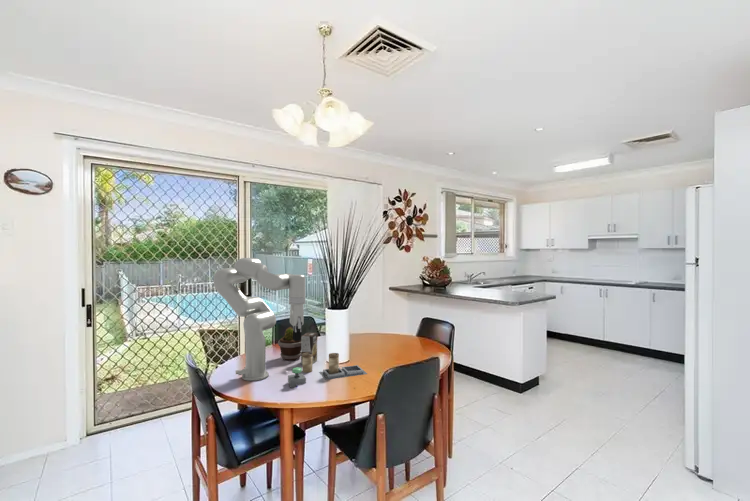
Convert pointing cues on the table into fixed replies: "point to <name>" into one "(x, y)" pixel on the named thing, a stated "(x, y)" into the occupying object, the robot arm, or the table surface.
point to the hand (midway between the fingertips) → (297, 339)
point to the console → (296, 380)
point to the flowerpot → (289, 346)
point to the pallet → (343, 372)
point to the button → (297, 371)
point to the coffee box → (309, 345)
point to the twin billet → (333, 363)
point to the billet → (307, 362)
